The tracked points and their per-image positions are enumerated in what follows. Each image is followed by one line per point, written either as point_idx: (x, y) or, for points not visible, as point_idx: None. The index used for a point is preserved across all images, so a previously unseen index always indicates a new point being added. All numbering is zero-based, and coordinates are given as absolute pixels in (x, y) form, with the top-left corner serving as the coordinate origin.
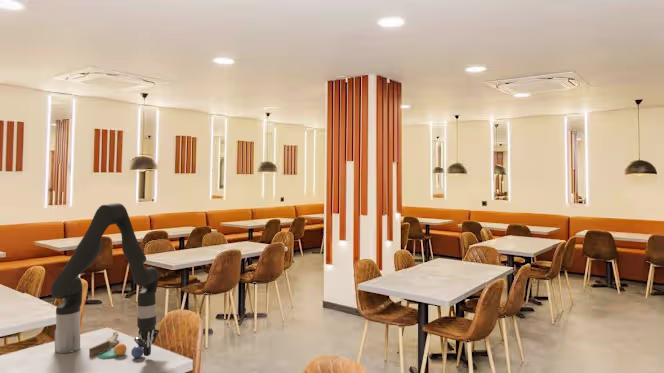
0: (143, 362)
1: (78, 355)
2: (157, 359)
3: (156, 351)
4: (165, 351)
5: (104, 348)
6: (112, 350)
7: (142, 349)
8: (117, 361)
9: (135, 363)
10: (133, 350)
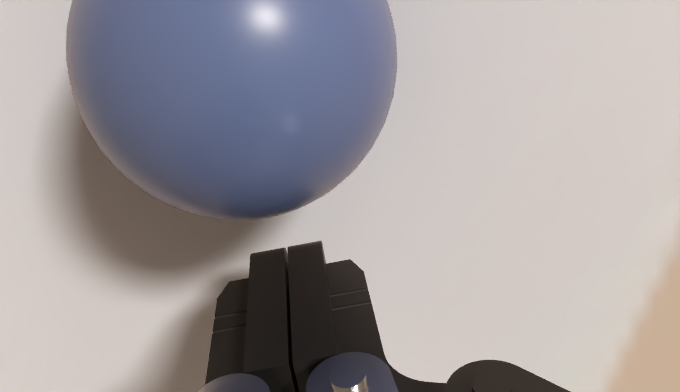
0: (154, 310)
1: None
2: None
3: (626, 112)
4: (657, 250)
5: None
6: None
7: (288, 210)
8: None
9: (43, 235)
10: (77, 88)
